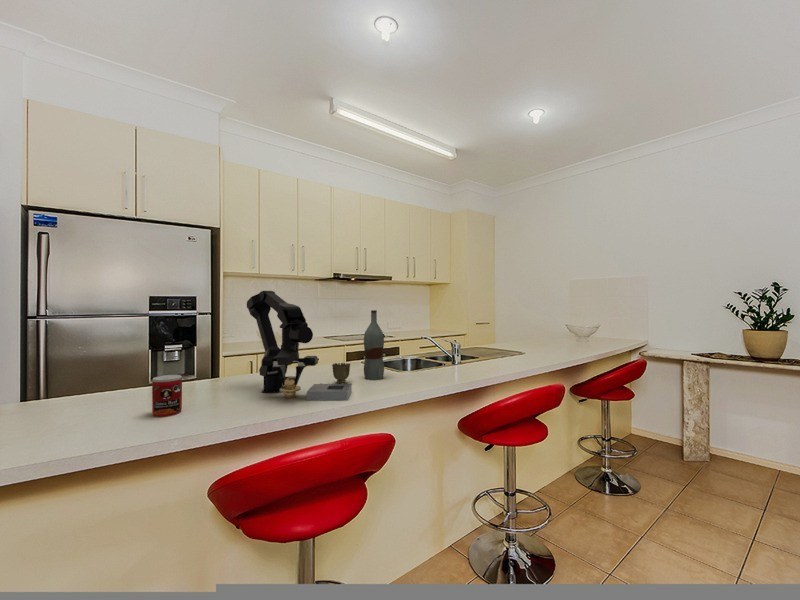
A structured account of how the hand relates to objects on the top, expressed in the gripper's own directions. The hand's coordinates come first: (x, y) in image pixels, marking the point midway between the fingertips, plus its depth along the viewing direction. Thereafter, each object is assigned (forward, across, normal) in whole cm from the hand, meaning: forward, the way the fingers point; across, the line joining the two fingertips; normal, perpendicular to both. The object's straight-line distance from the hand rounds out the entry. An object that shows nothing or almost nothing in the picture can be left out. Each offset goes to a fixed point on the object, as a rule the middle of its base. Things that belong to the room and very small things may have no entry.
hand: (290, 384), depth 133 cm
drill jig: (+4, +14, +1) cm, 15 cm away
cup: (+4, +15, +22) cm, 27 cm away
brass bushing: (+4, 0, 0) cm, 4 cm away
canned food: (+4, -32, -19) cm, 37 cm away
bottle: (+4, +28, +32) cm, 43 cm away
